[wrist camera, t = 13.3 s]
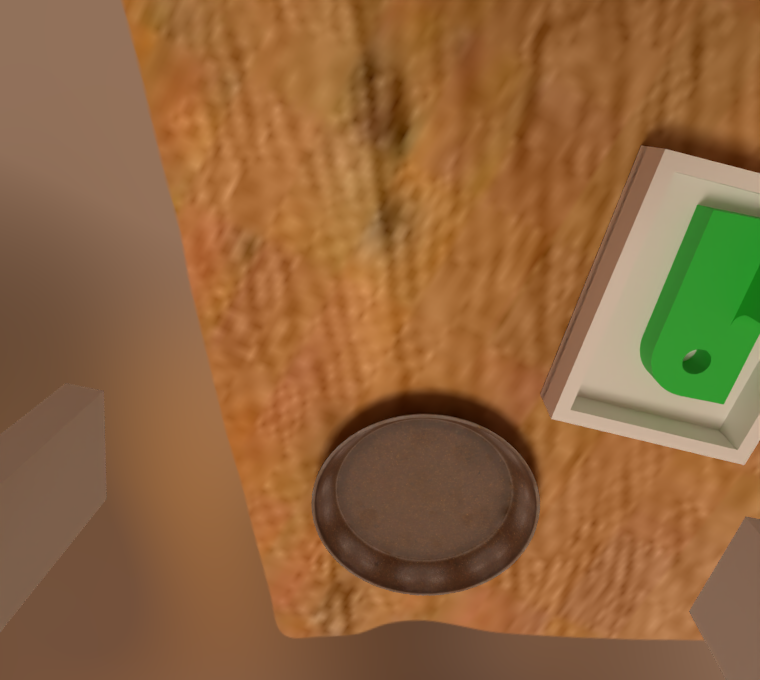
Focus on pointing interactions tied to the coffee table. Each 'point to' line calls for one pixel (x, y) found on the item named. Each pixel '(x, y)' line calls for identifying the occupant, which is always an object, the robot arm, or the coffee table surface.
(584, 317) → the tray
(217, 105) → the coffee table surface
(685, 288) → the mechanical part
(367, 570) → the plant saucer
